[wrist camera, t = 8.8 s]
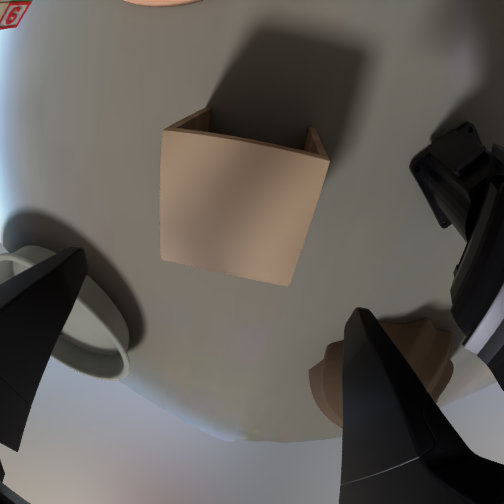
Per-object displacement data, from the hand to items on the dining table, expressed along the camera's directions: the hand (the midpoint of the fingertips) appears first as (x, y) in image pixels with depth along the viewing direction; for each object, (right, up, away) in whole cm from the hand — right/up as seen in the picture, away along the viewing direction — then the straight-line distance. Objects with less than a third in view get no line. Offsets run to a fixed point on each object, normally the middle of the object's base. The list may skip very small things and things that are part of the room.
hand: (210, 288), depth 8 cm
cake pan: (-25, -6, +25) cm, 36 cm away
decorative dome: (+18, -13, +24) cm, 33 cm away
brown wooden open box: (+1, +7, +10) cm, 12 cm away
